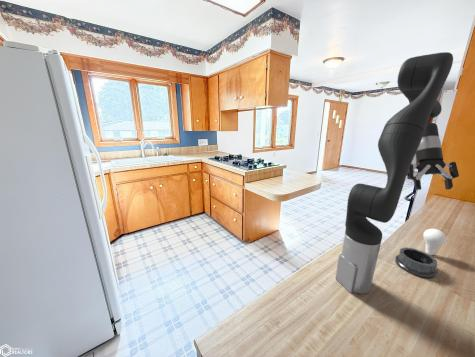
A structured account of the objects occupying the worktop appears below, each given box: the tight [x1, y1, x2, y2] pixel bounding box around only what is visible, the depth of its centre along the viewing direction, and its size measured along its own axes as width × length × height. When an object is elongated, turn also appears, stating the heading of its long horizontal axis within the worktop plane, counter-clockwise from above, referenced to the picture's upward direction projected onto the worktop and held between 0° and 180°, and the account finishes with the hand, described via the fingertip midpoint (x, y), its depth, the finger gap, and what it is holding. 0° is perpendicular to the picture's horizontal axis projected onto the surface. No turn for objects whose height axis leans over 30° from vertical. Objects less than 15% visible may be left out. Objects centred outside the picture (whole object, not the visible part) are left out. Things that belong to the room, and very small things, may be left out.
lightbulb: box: [422, 228, 447, 256], centre depth 73 cm, size 6×6×11 cm
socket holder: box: [394, 247, 438, 280], centre depth 67 cm, size 11×11×4 cm
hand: (433, 189), depth 73 cm, fingers open, 8 cm apart
